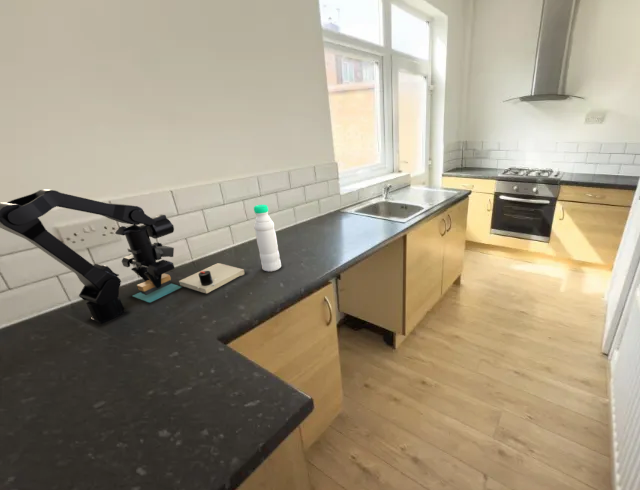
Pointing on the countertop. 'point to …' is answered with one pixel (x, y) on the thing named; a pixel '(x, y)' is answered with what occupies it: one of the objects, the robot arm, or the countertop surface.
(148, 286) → the brush
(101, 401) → the countertop surface
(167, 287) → the dish cloth
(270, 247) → the water bottle
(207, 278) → the knob
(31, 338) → the countertop surface
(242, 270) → the cream rectangular board
